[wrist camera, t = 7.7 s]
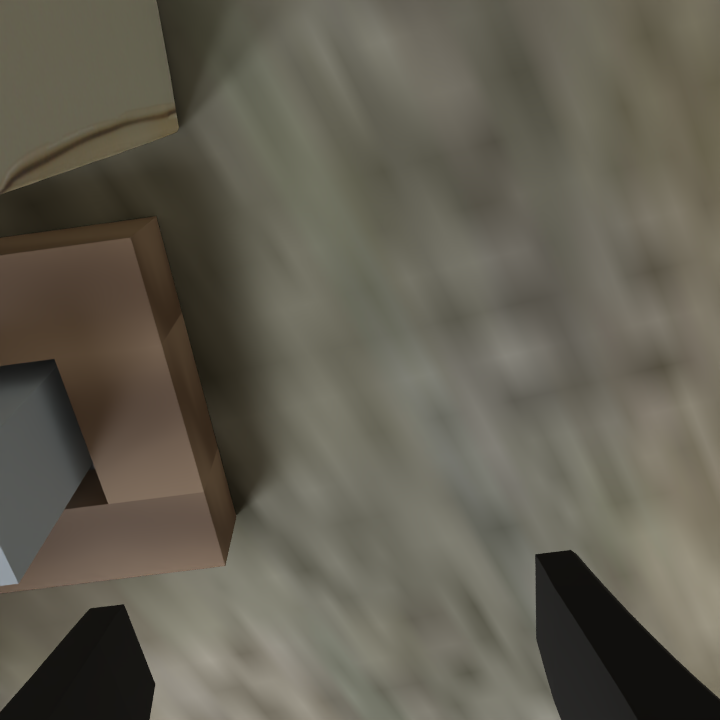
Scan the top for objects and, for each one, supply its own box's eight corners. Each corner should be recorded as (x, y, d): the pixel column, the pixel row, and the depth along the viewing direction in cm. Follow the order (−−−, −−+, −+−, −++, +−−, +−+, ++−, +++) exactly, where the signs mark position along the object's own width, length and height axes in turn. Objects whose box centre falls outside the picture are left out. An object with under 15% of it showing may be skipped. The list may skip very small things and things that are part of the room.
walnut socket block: (236, 516, 23) (225, 565, 21) (-59, 553, 23) (-102, 605, 21) (156, 216, 18) (130, 237, 16) (-212, 266, 19) (-288, 294, 16)
